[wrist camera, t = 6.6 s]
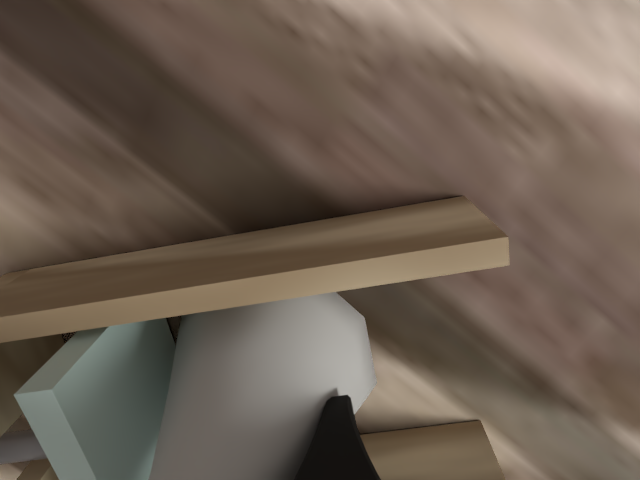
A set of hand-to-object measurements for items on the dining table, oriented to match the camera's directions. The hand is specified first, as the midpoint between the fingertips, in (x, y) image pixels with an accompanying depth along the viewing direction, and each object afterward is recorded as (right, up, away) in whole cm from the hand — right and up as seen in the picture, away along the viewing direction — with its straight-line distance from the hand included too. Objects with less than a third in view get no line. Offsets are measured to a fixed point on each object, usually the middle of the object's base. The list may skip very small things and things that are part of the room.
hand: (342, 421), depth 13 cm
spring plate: (-9, 0, +4) cm, 10 cm away
